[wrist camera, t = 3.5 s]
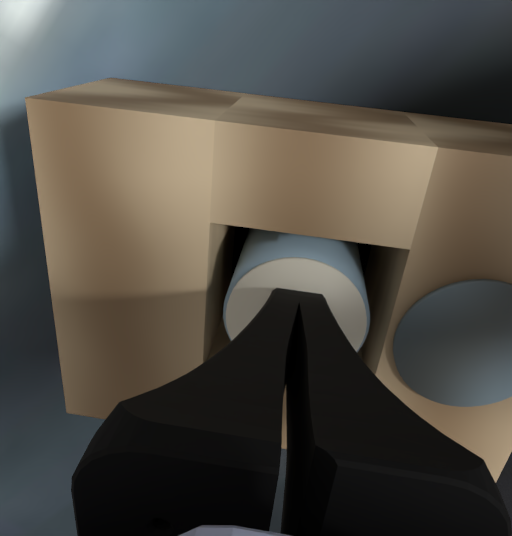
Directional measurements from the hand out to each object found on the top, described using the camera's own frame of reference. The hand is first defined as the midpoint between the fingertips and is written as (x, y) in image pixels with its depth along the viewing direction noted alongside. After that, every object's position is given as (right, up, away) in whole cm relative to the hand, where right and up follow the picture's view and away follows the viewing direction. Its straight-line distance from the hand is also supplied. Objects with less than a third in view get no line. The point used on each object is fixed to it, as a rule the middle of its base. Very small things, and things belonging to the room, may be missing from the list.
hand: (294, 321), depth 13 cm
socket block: (+1, +2, +4) cm, 5 cm away
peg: (+1, +2, +4) cm, 5 cm away
